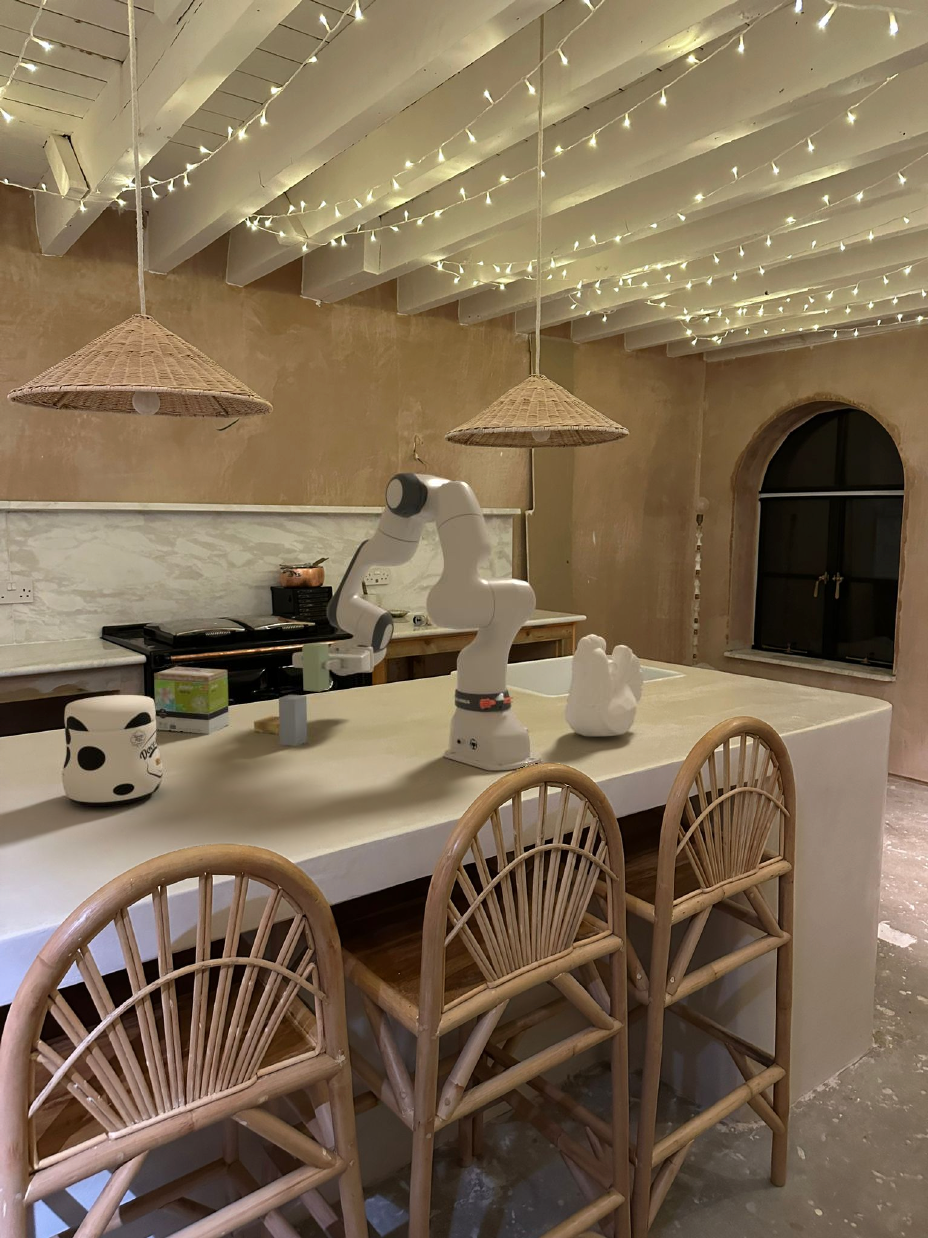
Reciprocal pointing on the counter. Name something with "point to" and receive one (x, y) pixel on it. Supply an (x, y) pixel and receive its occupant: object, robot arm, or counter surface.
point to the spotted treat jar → (111, 750)
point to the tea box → (191, 699)
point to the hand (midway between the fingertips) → (313, 665)
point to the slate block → (293, 720)
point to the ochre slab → (267, 725)
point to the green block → (315, 667)
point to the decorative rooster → (603, 689)
